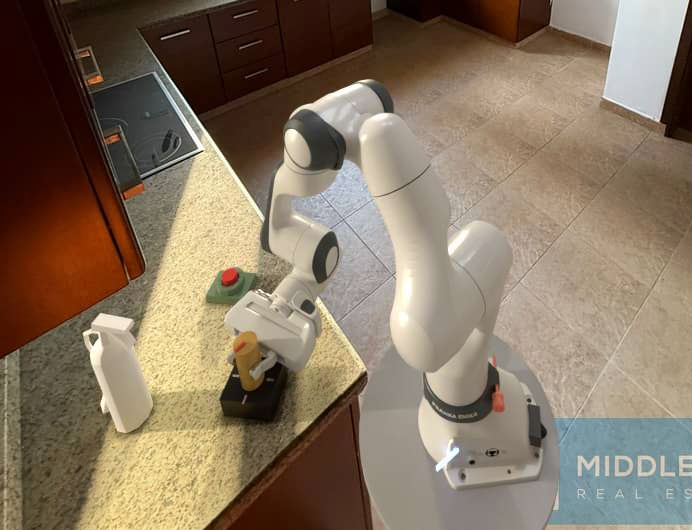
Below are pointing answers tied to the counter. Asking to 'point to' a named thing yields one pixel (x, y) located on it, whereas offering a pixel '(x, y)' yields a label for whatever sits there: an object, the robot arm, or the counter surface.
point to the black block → (254, 395)
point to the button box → (231, 288)
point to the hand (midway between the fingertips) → (241, 369)
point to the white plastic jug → (119, 372)
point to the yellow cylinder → (247, 359)
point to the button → (229, 277)
